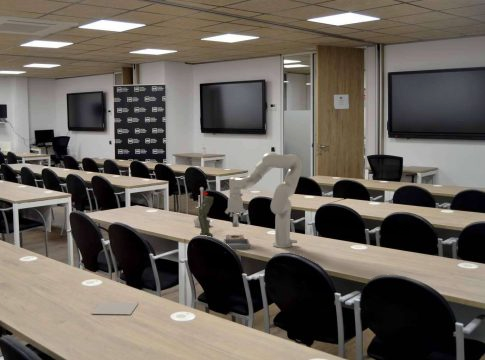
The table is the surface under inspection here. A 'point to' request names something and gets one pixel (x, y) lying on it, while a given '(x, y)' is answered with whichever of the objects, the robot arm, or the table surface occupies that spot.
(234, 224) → the pin
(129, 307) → the grey flat slab
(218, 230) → the table surface
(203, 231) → the mechanical leg
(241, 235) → the pin block
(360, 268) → the table surface
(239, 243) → the tray
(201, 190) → the flag stand
